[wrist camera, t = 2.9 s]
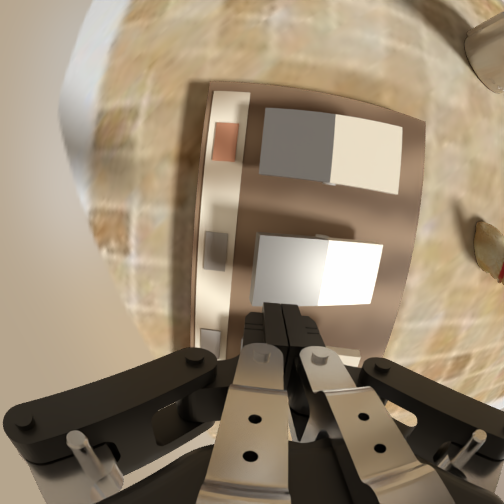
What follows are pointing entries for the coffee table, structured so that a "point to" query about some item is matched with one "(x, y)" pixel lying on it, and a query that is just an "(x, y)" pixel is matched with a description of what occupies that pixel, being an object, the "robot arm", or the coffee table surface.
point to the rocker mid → (313, 270)
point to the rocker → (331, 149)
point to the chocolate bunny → (490, 250)
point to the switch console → (293, 218)
